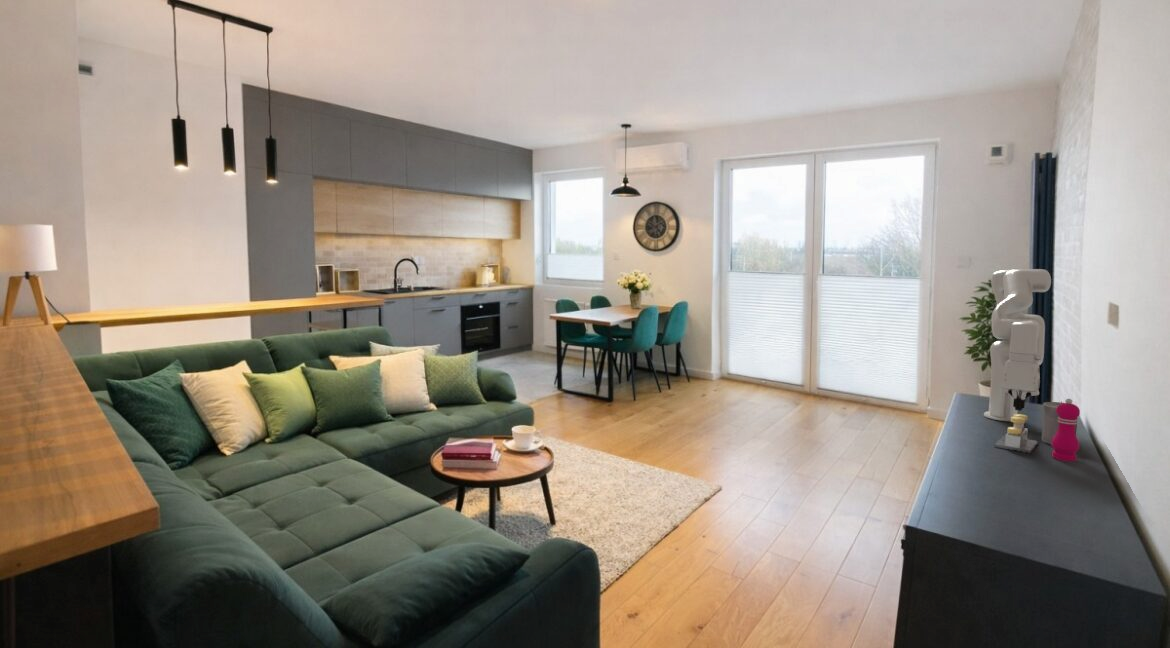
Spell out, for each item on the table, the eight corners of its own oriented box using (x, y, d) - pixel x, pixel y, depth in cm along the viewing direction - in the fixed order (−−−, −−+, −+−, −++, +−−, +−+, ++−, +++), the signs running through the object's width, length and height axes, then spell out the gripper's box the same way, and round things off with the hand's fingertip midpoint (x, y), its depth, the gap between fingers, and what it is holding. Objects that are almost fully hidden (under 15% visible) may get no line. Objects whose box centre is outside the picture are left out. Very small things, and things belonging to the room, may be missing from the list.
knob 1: (1011, 431, 216) (1012, 415, 215) (1024, 433, 213) (1026, 418, 212) (1008, 433, 213) (1009, 418, 212) (1022, 436, 210) (1023, 420, 210)
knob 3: (1013, 428, 219) (1014, 413, 218) (1027, 430, 216) (1028, 415, 216) (1011, 431, 216) (1012, 415, 216) (1025, 433, 213) (1026, 417, 213)
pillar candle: (1076, 442, 216) (1079, 400, 215) (1074, 448, 209) (1077, 405, 208) (1042, 437, 223) (1045, 396, 221) (1039, 443, 216) (1041, 401, 214)
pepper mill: (1068, 455, 203) (1073, 396, 201) (1083, 462, 196) (1089, 401, 194) (1045, 454, 204) (1049, 396, 201) (1059, 461, 197) (1064, 401, 194)
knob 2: (1007, 441, 213) (1008, 426, 212) (1021, 444, 210) (1022, 428, 209) (1005, 444, 210) (1006, 428, 209) (1019, 447, 207) (1020, 431, 207)
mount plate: (1003, 438, 222) (1004, 424, 221) (1037, 443, 215) (1038, 430, 214) (994, 446, 212) (995, 433, 211) (1029, 453, 205) (1030, 438, 204)
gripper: (1051, 358, 207) (1047, 411, 209) (999, 354, 218) (995, 404, 220) (1047, 361, 202) (1043, 415, 204) (994, 356, 212) (990, 408, 215)
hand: (1018, 409), depth 212 cm, fingers closed
